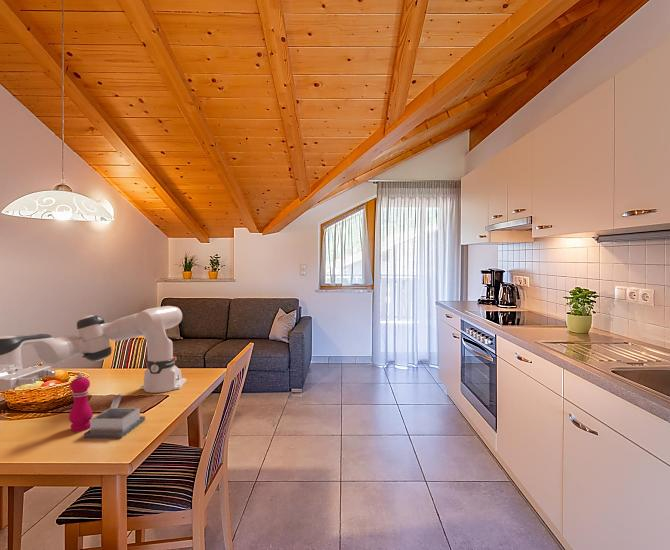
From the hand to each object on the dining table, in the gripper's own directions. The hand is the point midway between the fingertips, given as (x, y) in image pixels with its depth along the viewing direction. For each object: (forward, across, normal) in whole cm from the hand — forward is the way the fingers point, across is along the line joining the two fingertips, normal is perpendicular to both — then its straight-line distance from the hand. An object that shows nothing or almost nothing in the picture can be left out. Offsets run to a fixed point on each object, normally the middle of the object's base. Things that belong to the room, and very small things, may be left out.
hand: (44, 377), depth 147 cm
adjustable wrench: (+15, -19, -18) cm, 30 cm away
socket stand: (+26, -1, -19) cm, 32 cm away
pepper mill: (+13, 0, -19) cm, 23 cm away
